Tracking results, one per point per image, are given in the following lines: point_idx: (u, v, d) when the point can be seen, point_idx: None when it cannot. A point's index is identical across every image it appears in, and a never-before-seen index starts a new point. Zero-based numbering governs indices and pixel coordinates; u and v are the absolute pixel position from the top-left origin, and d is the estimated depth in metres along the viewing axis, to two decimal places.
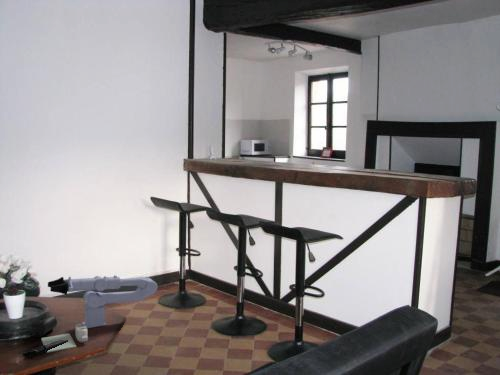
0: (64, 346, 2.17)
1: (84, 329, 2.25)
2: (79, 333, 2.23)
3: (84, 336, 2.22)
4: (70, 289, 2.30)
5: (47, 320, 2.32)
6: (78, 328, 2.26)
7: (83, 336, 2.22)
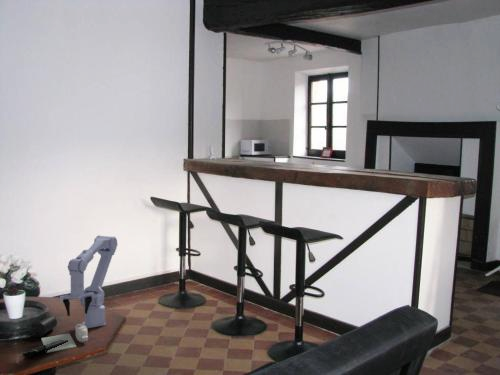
0: (64, 346, 2.17)
1: (84, 329, 2.25)
2: (79, 333, 2.23)
3: (84, 336, 2.22)
4: None
5: (47, 320, 2.32)
6: (78, 328, 2.26)
7: (83, 336, 2.22)
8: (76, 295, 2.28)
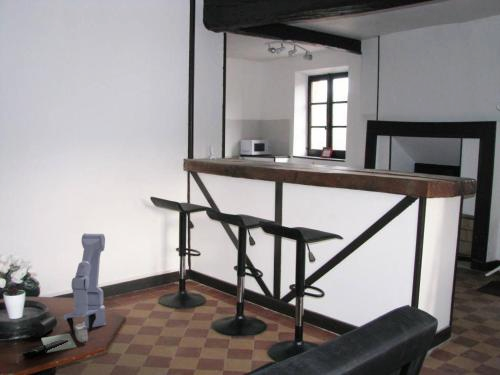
0: (64, 346, 2.17)
1: (84, 329, 2.25)
2: (79, 333, 2.23)
3: (84, 336, 2.22)
4: None
5: (47, 320, 2.32)
6: (78, 328, 2.26)
7: (83, 336, 2.22)
8: (80, 314, 2.24)
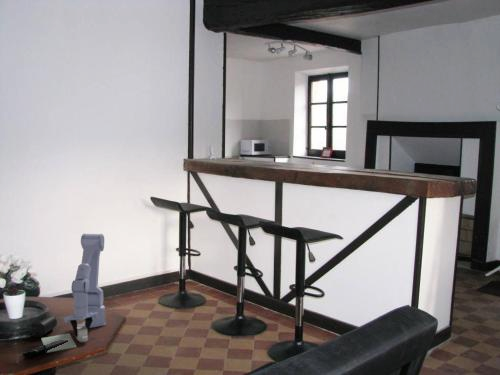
0: (64, 346, 2.17)
1: (84, 329, 2.25)
2: (79, 333, 2.23)
3: (84, 336, 2.22)
4: None
5: (47, 320, 2.32)
6: (78, 328, 2.26)
7: (83, 336, 2.22)
8: (80, 316, 2.24)
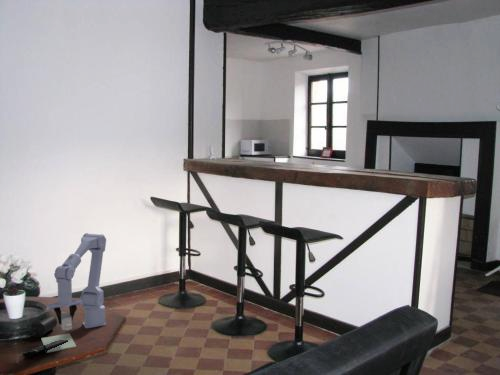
0: (64, 346, 2.17)
1: (68, 317, 2.20)
2: (63, 321, 2.18)
3: (68, 324, 2.17)
4: None
5: (47, 320, 2.32)
6: (62, 316, 2.21)
7: (67, 324, 2.17)
8: (64, 304, 2.19)
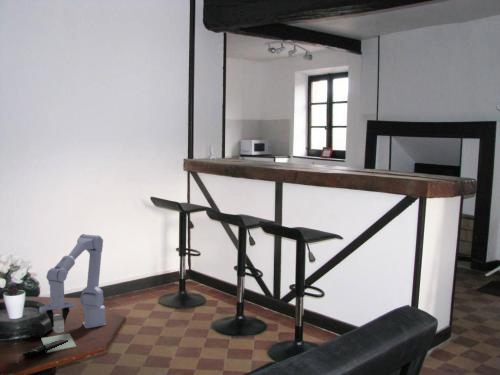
0: (64, 346, 2.17)
1: (60, 319, 2.18)
2: (55, 323, 2.16)
3: (60, 326, 2.15)
4: None
5: (47, 320, 2.32)
6: (54, 318, 2.19)
7: (59, 326, 2.15)
8: (56, 306, 2.17)
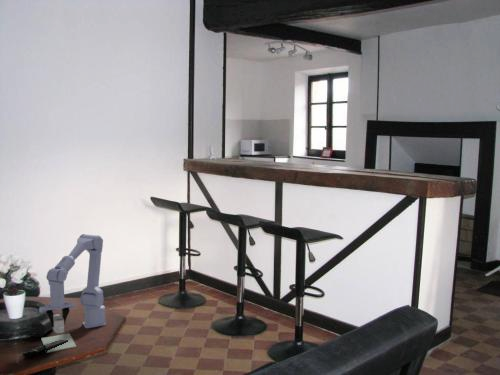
0: (64, 346, 2.17)
1: (60, 320, 2.18)
2: (55, 324, 2.16)
3: (60, 327, 2.15)
4: None
5: (47, 320, 2.32)
6: (54, 319, 2.19)
7: (59, 327, 2.15)
8: (56, 306, 2.17)
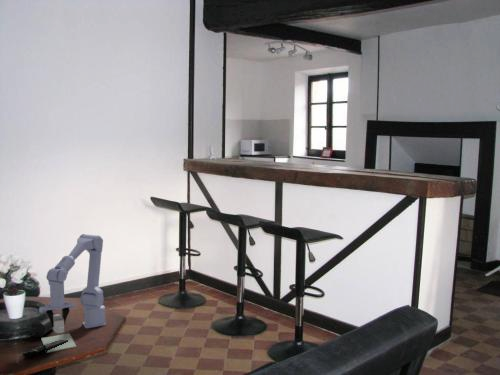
0: (64, 346, 2.17)
1: (60, 320, 2.18)
2: (55, 324, 2.16)
3: (60, 327, 2.15)
4: None
5: (47, 320, 2.32)
6: (54, 319, 2.19)
7: (59, 327, 2.15)
8: (56, 306, 2.17)
